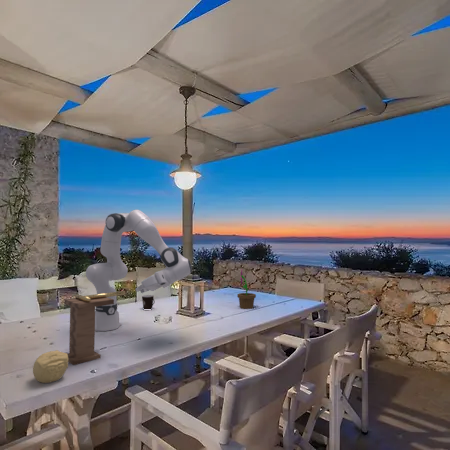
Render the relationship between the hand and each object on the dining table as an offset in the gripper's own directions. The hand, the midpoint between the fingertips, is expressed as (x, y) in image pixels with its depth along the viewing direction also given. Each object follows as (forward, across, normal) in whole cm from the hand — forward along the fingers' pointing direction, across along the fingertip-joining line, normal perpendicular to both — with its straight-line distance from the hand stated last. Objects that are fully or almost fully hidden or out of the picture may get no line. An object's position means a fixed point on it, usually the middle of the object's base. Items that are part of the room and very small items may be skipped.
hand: (138, 291), depth 174 cm
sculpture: (+37, +35, +22) cm, 56 cm away
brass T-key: (+14, +12, -2) cm, 19 cm away
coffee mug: (+16, -83, 0) cm, 84 cm away
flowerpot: (-51, -94, +32) cm, 111 cm away
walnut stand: (+30, +11, +19) cm, 37 cm away
